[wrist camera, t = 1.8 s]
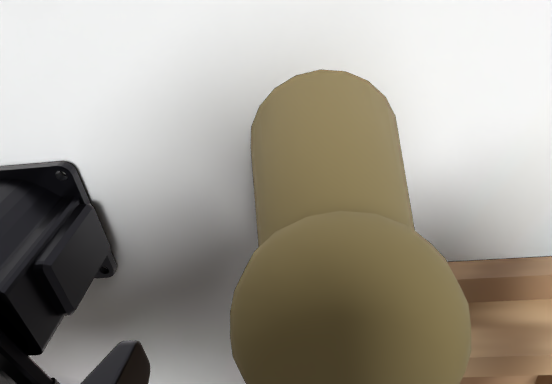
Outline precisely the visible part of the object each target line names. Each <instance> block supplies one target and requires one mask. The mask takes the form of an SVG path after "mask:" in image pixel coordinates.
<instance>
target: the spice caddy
mask: <svg viewBox="0 0 552 384" xmlns="http://www.w3.org/2000/svg"><path fill="white" fill-rule="evenodd" d="M447 263H448V265H449V267H450V268H451V270H452V272H453V274H454V276H455V278H456V279H457V281H458V283H459V285H460V287H461V289H462V291H463V294H464V296H465V298H466V300H467V302H468V305H469V313H470V322H471V354H470V358H469V361H468V365H467V368H466V371H465V374H464V376H463V378H462V380H461V382H460V384H552V256H549V257H531V258H512V259H493V260H475V261H456V262H447Z"/></svg>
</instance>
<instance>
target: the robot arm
mask: <svg viewBox="0 0 552 384" xmlns="http://www.w3.org/2000/svg"><path fill="white" fill-rule="evenodd" d="M60 171H63V172H64V173H66V175H67V176H64V175H62V174H61V172H60ZM110 249H111V247H110V244H109V242H108V240H107V237H106V235H105V233H104V230H103V228H102V225H101V223H100V221H99V218H98V216H97V214H96V211H95V209H94V207H93V206H92V205H91V203H90V201H89V198H88V196H87V194H86V191H85V189H84V187H83V184H82V182H81V180H80V177H79V175H78V173H77V170H76V169H75V167H74V166H73V165H71V164H70V163H68V162H63V161H59V162H47V163H35V164H23V165H12V166H0V384H60V383H59V382H58V381H57V380H56V379H55V378H50V377H49V376H48V375H47V374H46V373H45V372H44V371H43V370H42V369H41V368H40V367H39V366H38V365H37V364H36V363H35V362H34V361H33V360H32V359H31V358H30V357H29V356H28V355H40V354H42V352H43V351H44V349H45V347H46V346H47V344H48V342H49V341H50V339H51V337H52V336H53V334H54V332H55V331H56V329H57V327H58V326H59V324H60V322H61V321H62V319H63V317H64V315H72V314H73V312H74V311H75V310H76V308H77V307H78V305H79V303H80V301H81V300H82V298H83V296H84V294H85V293H86V291H87V289H88V287H89V286H90V284H91V282H92V281H93V279H94V278H108V277H111V276H113V274H114V272H115V271H116V268H117V264H116V262H115V259H114V257H113V255H112V252H111V250H110ZM105 267H106V268H105ZM149 376H150V363H149V360H148V358H147V356H146V354H145V351H144V349H143V347H142V345H141V343H140V342H139V341H123V342H120V343H119V344H118V345H117V346H116V347H115V348H114V349H113V350H112V351H111V352H110V353H109V354H108V355H107V356H106V357H105V358H104V359H103V360H102V361H101V363H100V364H99V365H98V366H97V367H96V368H95V369H94V370H93V371H92V372H91V373H90V374H89V375H88V376H87V377H86V378H85V380H84V381H83V382H82V383H81V384H148V382H149Z"/></svg>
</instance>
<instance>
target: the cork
mask: <svg viewBox="0 0 552 384" xmlns="http://www.w3.org/2000/svg"><path fill="white" fill-rule="evenodd" d="M251 157H252V170H253V182H254V195H255V207H256V220H257V233H258V245H259V248H257V249H256V250H255V251H254V253H253V255H252V257H251V259H250V260H249V262H248V264H247V266H246V268H245V270H244V272H243V274H242V276H241V278H240V280H239V282H238V284H237V286H236V288H235V290H234V295H233V300H232V305H231V310H230V339H231V347H232V355H233V358H234V361H235V363H236V365H237V367H238V369H239V371H240V373H241V375H242V377H243V379H244V381H245V383H246V384H460V382H461V380H462V378H463V376H464V374H465V371H466V368H467V365H468V361H469V358H470V354H471V322H470V313H469V305H468V302H467V300H466V298H465V296H464V294H463V291H462V289H461V287H460V285H459V283H458V281H457V279H456V278H455V276H454V274H453V272H452V270H451V268H450V267H449V265H448V263H447V261H446V259H445V258H444V257H443V256H442V255H441V254H440V253H439V252H438V251H437V249H436V248H435V247H434V246H433V245H432V244H431V243H430V242H428V241H427V240H426V239H424V238H423V237H422V236H421V235H419V234H418V233H417V232H416V231H415V229H414V223H413V217H412V212H411V206H410V200H409V194H408V188H407V182H406V176H405V170H404V164H403V158H402V152H401V146H400V140H399V134H398V129H397V123H396V117H395V115H394V113H393V111H392V109H391V107H390V105H389V103H388V101H387V99H386V97H385V96H384V95H383V94H382V93H381V92H380V91H379V90H378V89H376V88H375V87H374V86H373V85H372V84H371V83H370V82H369V81H367V80H365V79H362V78H360V77H358V76H355V75H353V74H350V73H348V72H345V71H332V70H317V71H313V72H309V73H304V74H300V75H296V76H294V77H293V78H291V79H289V80H288V81H286V82H284V83H283V84H281V85H279V86H278V87H276V88H275V89H274V90H273V91H272V92H271V93H270V94H269V96H268V97H267V98H266V99H265V100H264V101H263V103H262V104H261V105H260V106H259V109H258V111H257V114H256V116H255V119H254V121H253V124H252V126H251Z"/></svg>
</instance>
